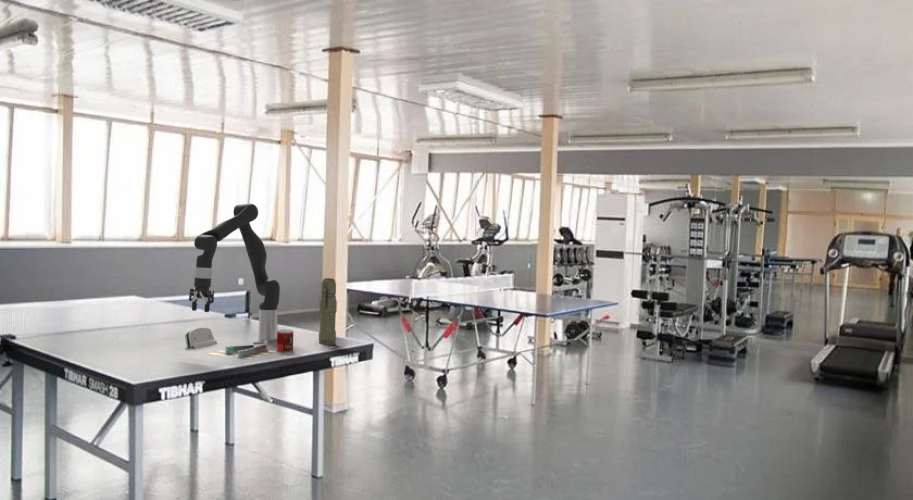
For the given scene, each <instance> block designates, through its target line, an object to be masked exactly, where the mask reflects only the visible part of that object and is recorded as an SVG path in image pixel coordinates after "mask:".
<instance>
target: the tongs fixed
mask: <svg viewBox="0 0 913 500" xmlns="http://www.w3.org/2000/svg"><path fill="white" fill-rule="evenodd" d="M263 342H264V343H263V344H260V345H258V346H254V347H253V348H250V349H246V350H240V351H238V357H241V358H240V359H244V358H243V357H247V356H251V355H254V354H258V353H261V352H265V351H268V350H269V341H268V340H264V341H263ZM238 357H237V358H238Z"/></svg>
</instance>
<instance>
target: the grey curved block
mask: <svg viewBox="0 0 913 500" xmlns="http://www.w3.org/2000/svg"><path fill="white" fill-rule="evenodd" d="M184 337H185V345H186V348H192V347H193V349H194V350H195V349H199V348H205V347H208V346H214V345H217V344H218V342H217V340H216V339H215V338H214V334H213V331H212V329H211V328H208V327H198V328H194V329H191V330H189V331H187V333H185V334H184Z"/></svg>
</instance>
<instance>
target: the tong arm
mask: <svg viewBox="0 0 913 500" xmlns="http://www.w3.org/2000/svg"><path fill="white" fill-rule="evenodd" d="M255 345H264V341H253V342H252V344H244V345H243V344H242V345H230V346H229V345H228V346H225V348H224V349H225V353H226V354H231V353H238V351H240V350H246V349H250V348H253V347H255Z"/></svg>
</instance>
